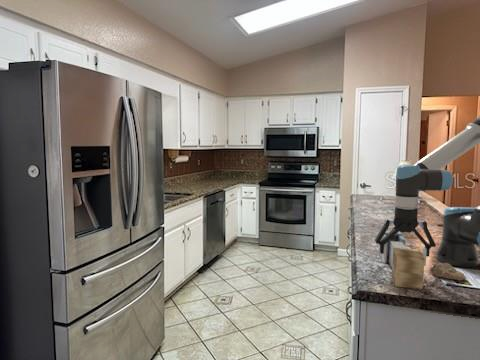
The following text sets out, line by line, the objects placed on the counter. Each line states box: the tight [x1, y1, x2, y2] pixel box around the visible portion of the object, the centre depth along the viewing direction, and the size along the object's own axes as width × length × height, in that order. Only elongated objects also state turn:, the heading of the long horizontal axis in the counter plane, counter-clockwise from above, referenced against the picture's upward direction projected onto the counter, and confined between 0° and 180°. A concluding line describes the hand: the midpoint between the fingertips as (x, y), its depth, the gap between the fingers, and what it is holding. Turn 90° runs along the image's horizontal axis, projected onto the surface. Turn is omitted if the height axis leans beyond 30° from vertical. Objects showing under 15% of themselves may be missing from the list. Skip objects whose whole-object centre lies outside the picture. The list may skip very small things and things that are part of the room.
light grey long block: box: [388, 241, 408, 268], centre depth 127 cm, size 5×18×9 cm, turn 167°
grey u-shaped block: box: [378, 230, 406, 263], centre depth 142 cm, size 8×11×11 cm
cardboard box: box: [391, 248, 425, 290], centre depth 117 cm, size 8×7×12 cm
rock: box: [429, 262, 467, 281], centre depth 124 cm, size 9×6×10 cm
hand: (403, 263), depth 124 cm, fingers open, 13 cm apart
